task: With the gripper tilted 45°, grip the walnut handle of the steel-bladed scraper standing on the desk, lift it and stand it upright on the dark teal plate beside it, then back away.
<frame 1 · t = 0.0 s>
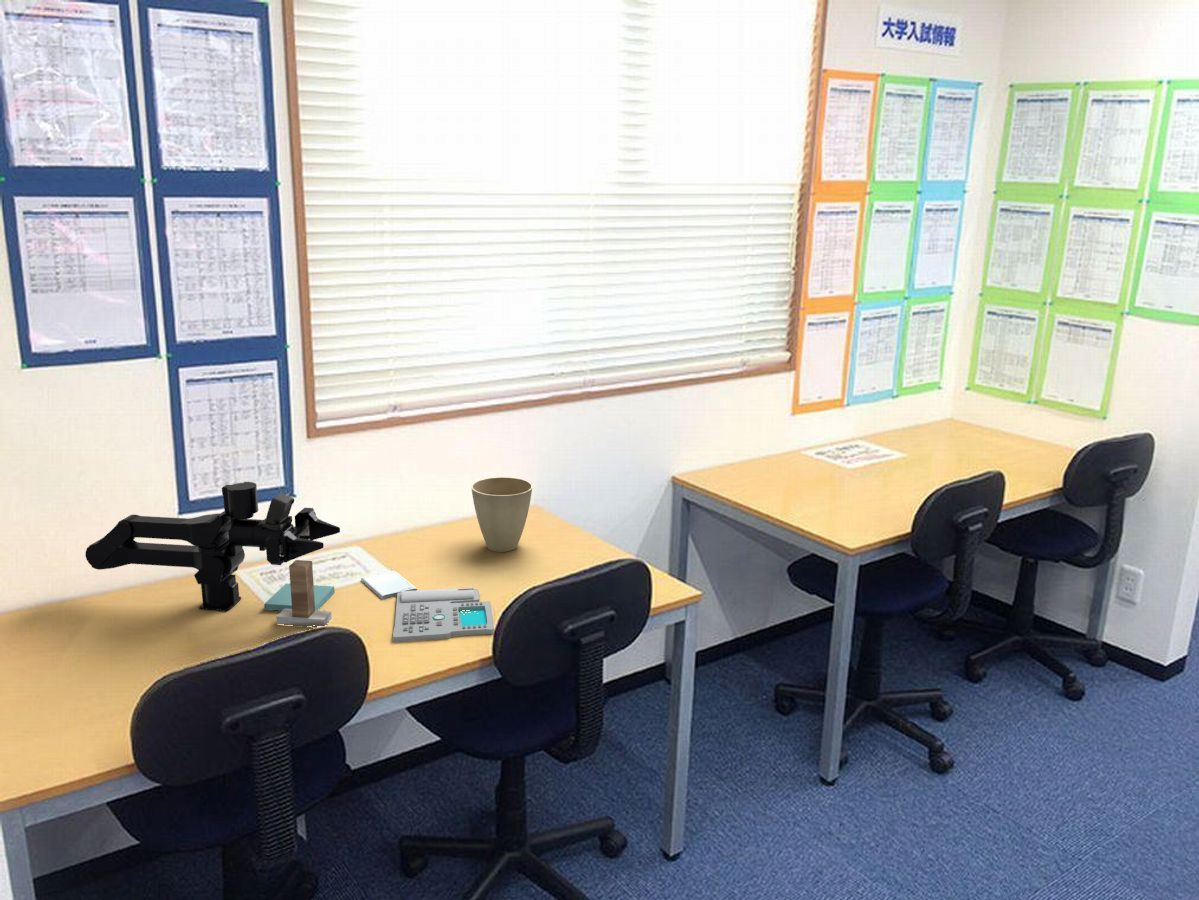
hand: (331, 537, 204), 17 cm above the table, tool horizontal, fingers open, 9 cm apart
plate: (300, 601, 213), on the table
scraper: (304, 622, 203), on the table
office telephone: (443, 616, 208), on the table, touching hard drive
plant pot: (502, 547, 247), on the table
hard drive: (389, 589, 223), on the table, touching office telephone
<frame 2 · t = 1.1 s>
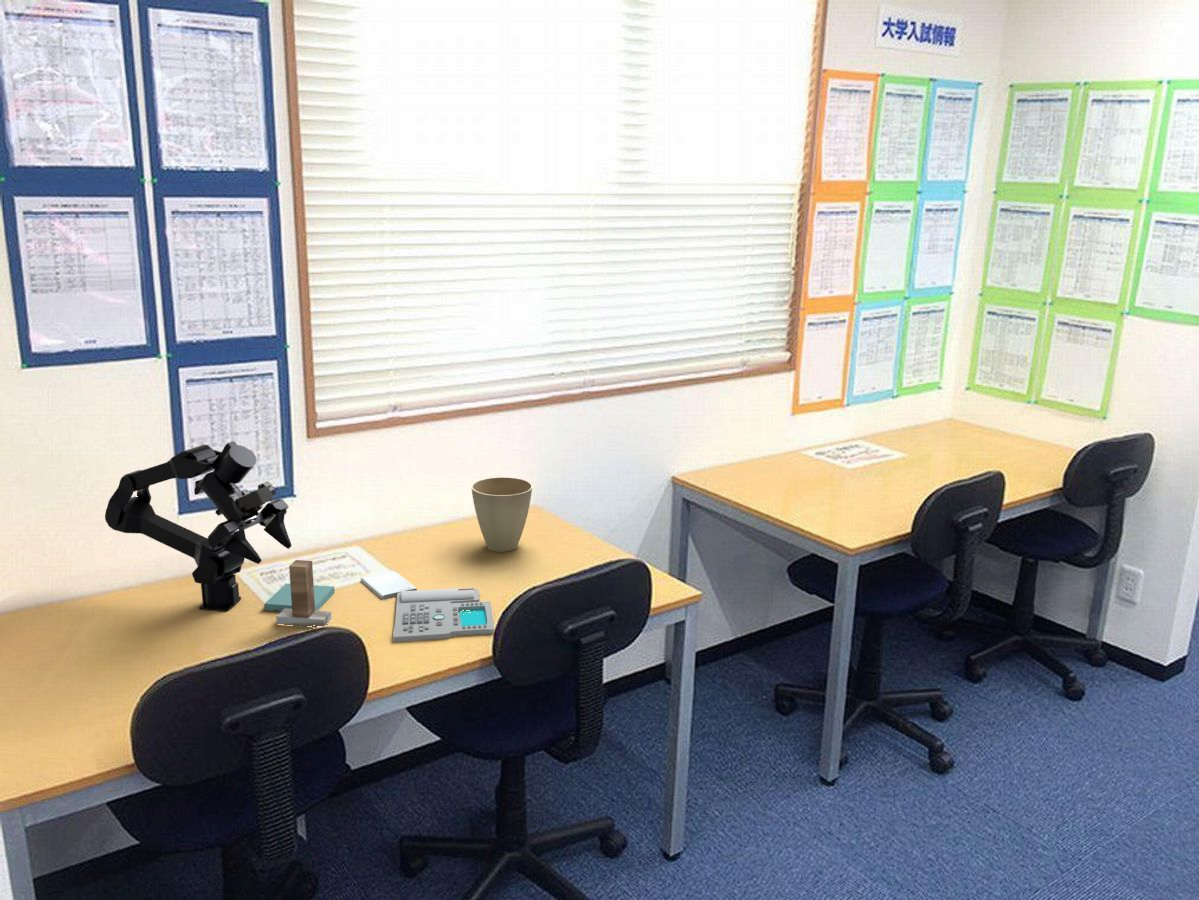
hand: (275, 554, 202), 14 cm above the table, tool tilted 45°, fingers open, 9 cm apart
nothing on the table moved.
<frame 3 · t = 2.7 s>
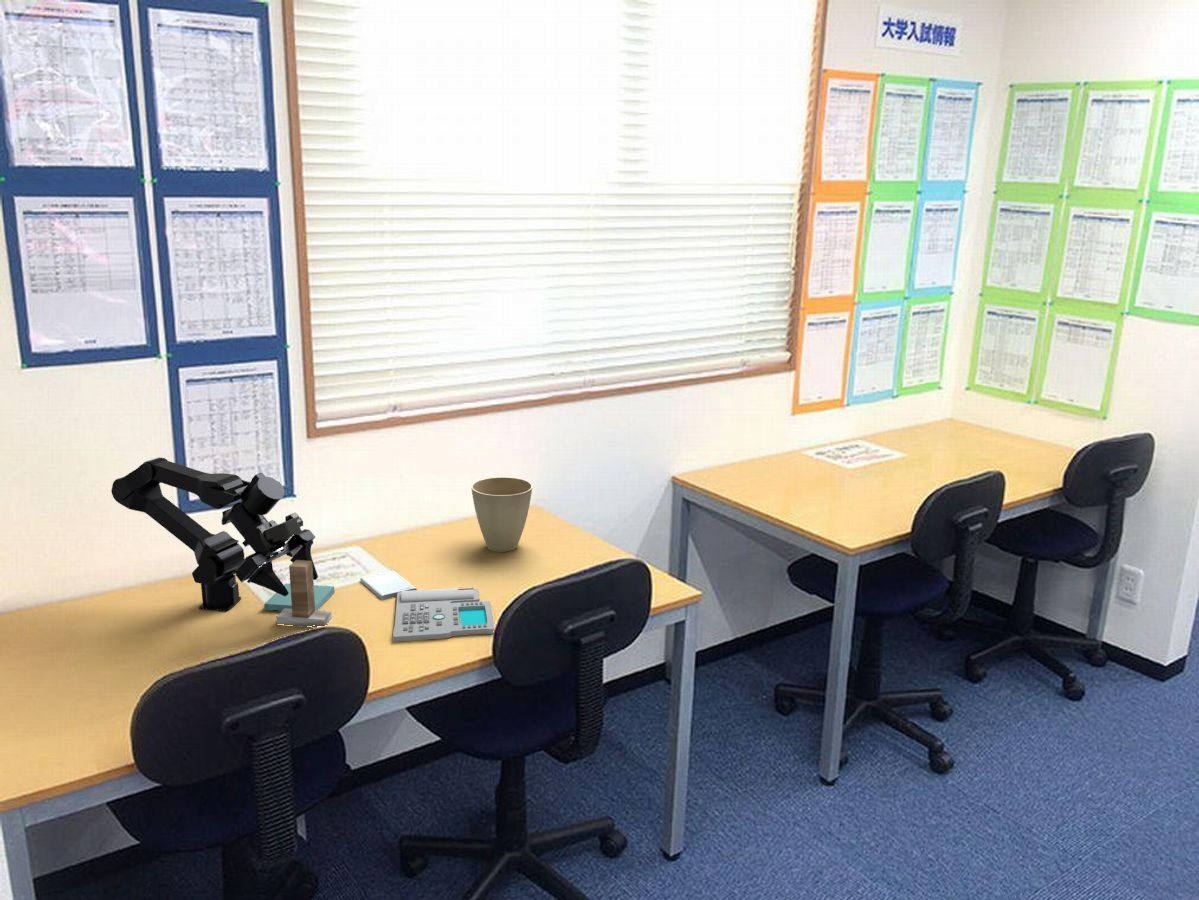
hand: (302, 586, 201), 8 cm above the table, tool tilted 45°, fingers open, 9 cm apart
nothing on the table moved.
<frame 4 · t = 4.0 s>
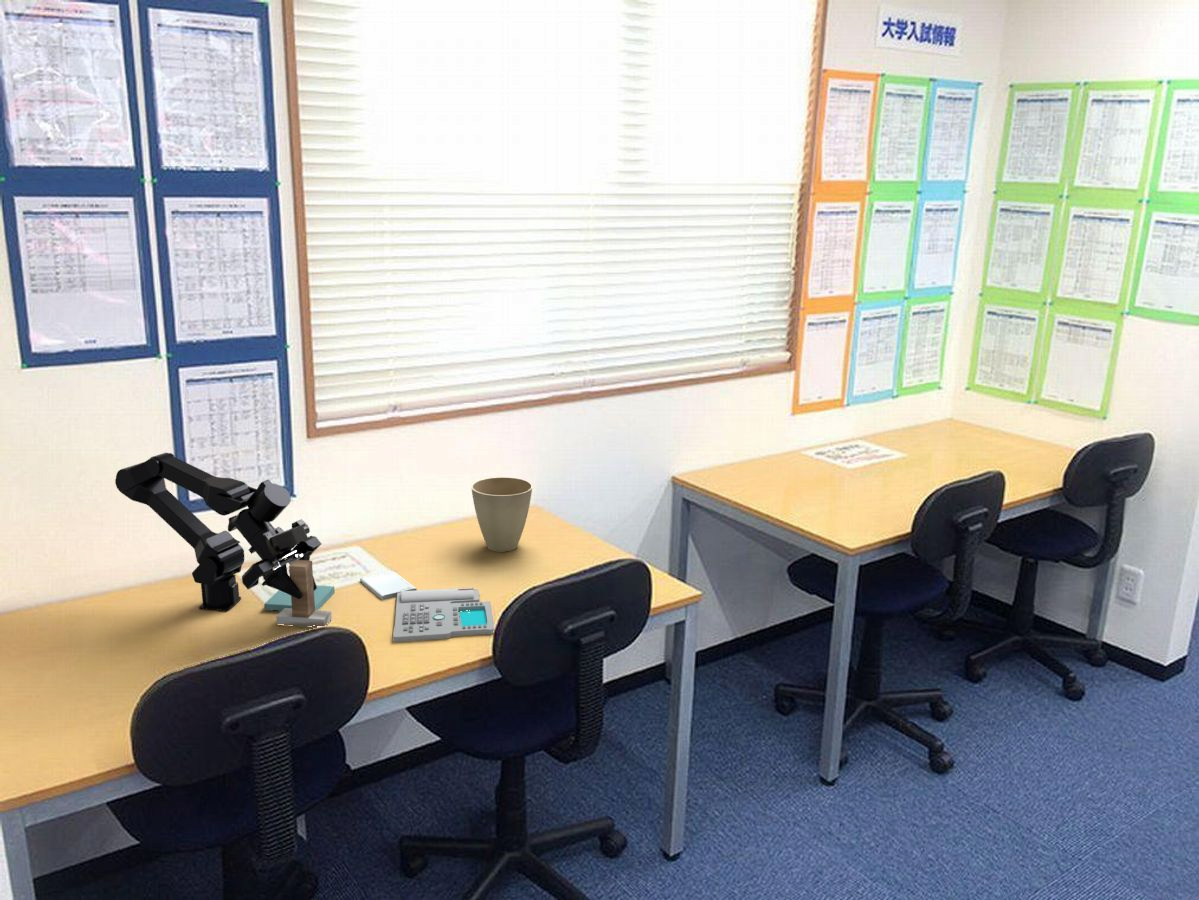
hand: (308, 593, 201), 7 cm above the table, tool tilted 45°, fingers closed on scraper, 4 cm apart
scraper: (304, 622, 203), on the table, touching gripper
everything else where it was.
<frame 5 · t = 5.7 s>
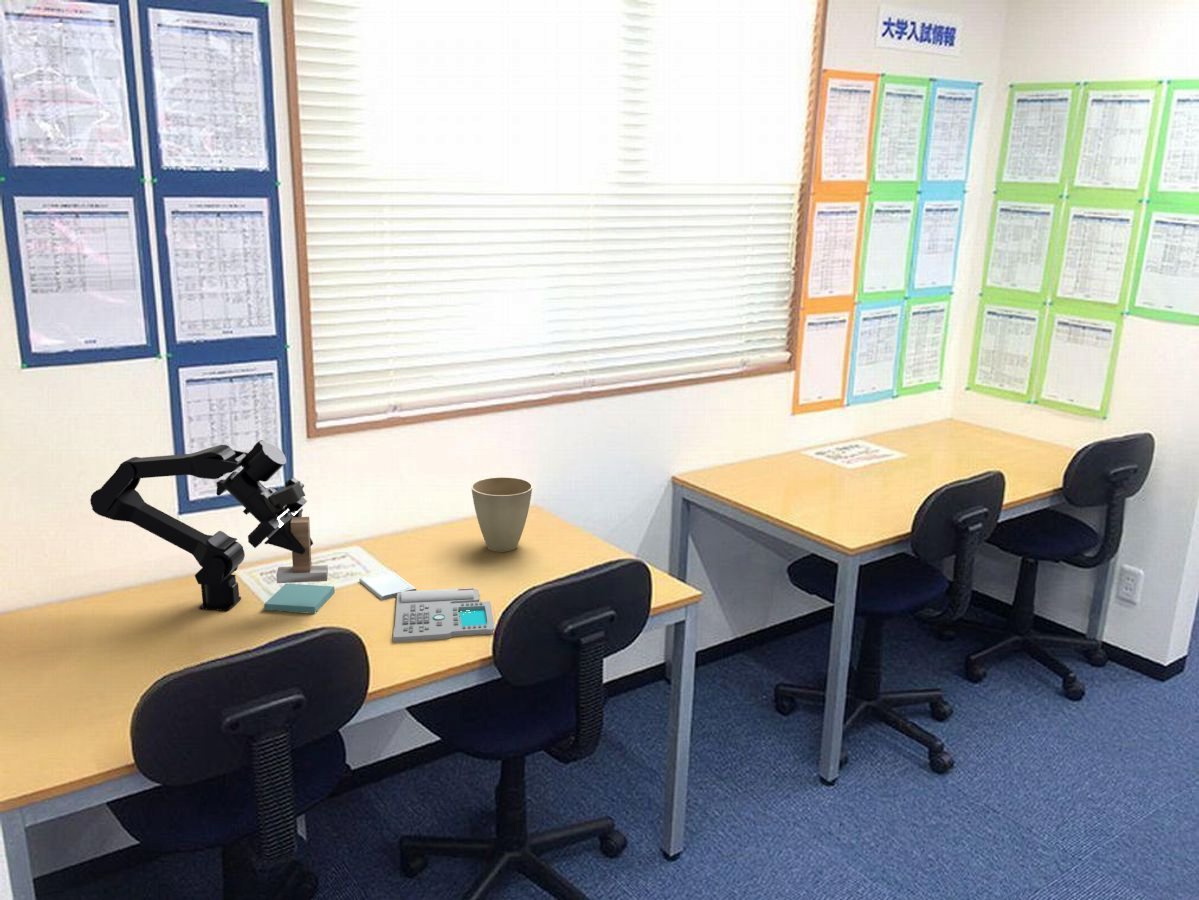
hand: (307, 549, 206), 13 cm above the table, tool tilted 45°, fingers closed on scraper, 4 cm apart
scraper: (302, 578, 208), point 7 cm above the table, touching gripper
office telephone: (443, 617, 208), on the table
hard drive: (387, 590, 222), on the table
everything else where it was.
when the fingers open (9 cm above the table, at t = 7.4 s): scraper stays where it is, resting on plate.
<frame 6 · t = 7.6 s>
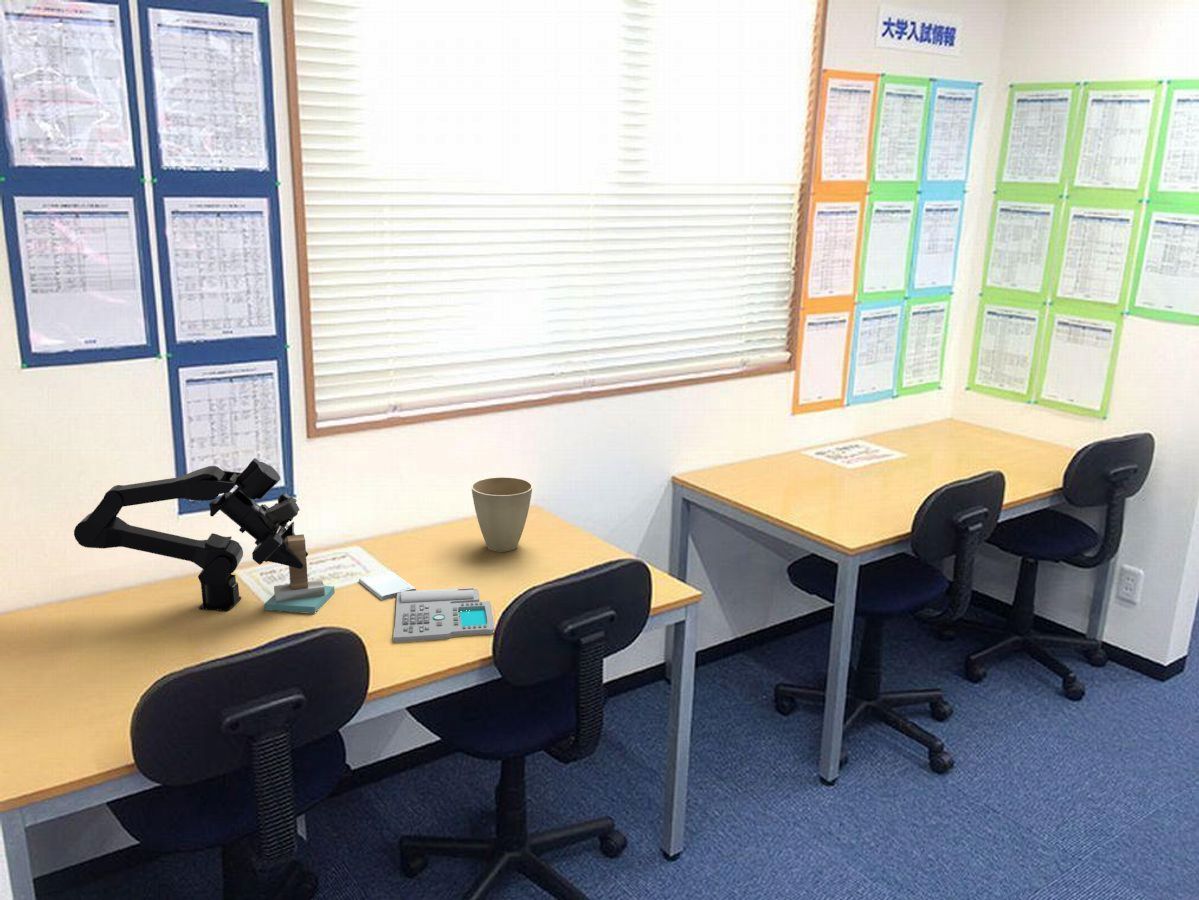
hand: (304, 561, 211), 9 cm above the table, tool tilted 45°, fingers open, 6 cm apart
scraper: (299, 595, 213), point 1 cm above the table, touching plate
office telephone: (443, 617, 208), on the table, touching hard drive
hard drive: (387, 590, 222), on the table, touching office telephone
everything else where it was.
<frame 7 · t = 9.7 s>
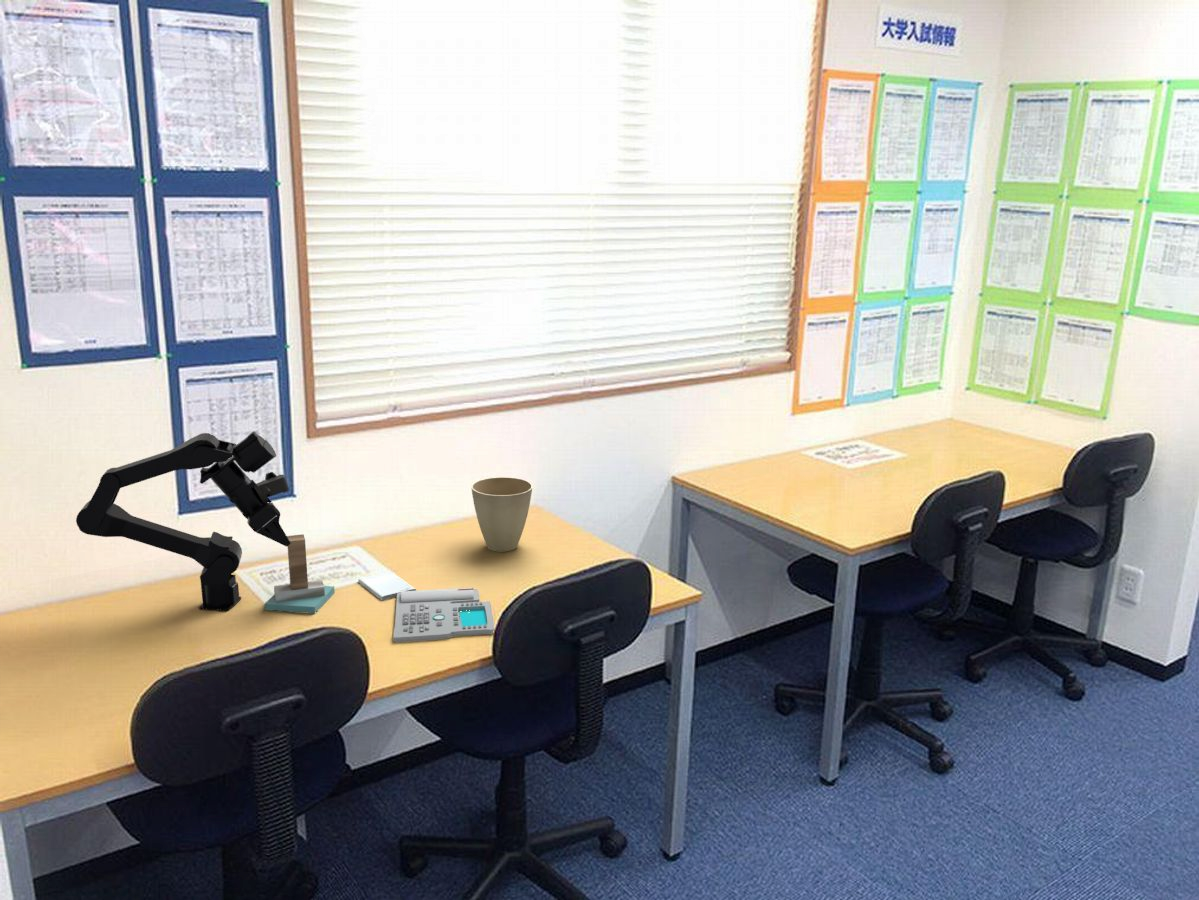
hand: (286, 541, 211), 13 cm above the table, tool tilted 35°, fingers open, 9 cm apart
office telephone: (443, 617, 208), on the table
hard drive: (387, 590, 222), on the table
everything else where it was.
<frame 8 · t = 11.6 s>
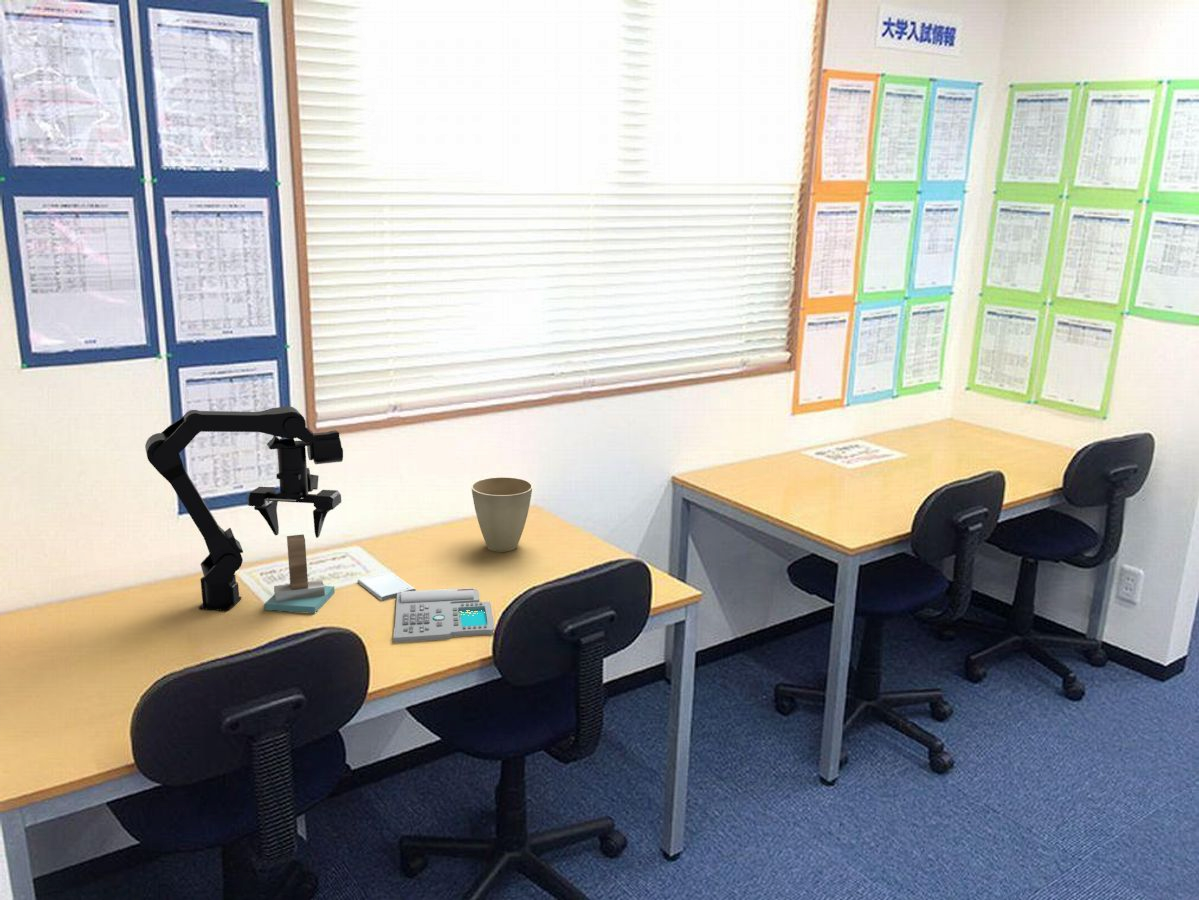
hand: (297, 535, 215), 13 cm above the table, tool pointing down, fingers open, 9 cm apart
office telephone: (443, 617, 208), on the table, touching hard drive
hard drive: (386, 590, 222), on the table, touching office telephone
everything else where it was.
at the end: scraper inside the target area on the plate (0.1 cm from its centre), point 1.5 cm above the plate's base; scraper tilted 0°; the gripper is holding nothing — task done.
